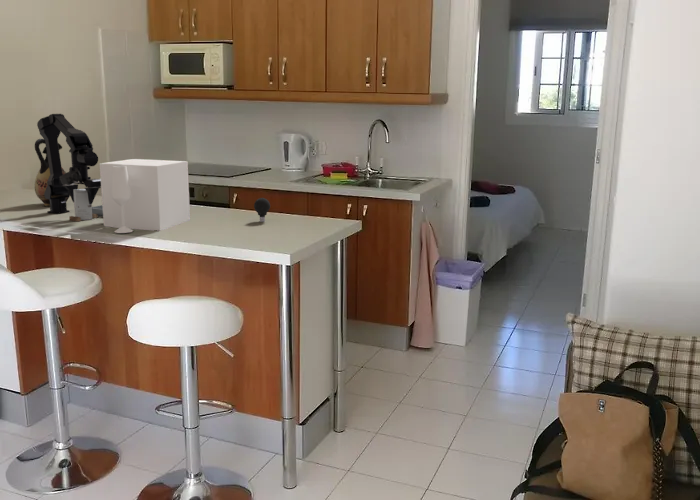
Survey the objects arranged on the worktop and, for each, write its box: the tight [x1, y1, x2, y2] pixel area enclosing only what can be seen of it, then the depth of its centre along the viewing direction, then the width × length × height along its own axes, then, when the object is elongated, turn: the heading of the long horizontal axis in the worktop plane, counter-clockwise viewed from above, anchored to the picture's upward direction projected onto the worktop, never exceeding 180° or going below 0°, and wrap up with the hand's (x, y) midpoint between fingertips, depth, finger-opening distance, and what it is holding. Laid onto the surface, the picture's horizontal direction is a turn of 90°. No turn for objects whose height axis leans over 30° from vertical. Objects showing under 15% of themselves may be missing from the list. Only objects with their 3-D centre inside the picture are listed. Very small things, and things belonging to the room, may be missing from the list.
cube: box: [99, 158, 191, 232], centre depth 264 cm, size 25×21×24 cm
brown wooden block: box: [69, 214, 98, 222], centre depth 274 cm, size 5×10×2 cm, turn 152°
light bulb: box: [253, 197, 271, 223], centre depth 270 cm, size 6×6×10 cm
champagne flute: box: [112, 166, 134, 234], centre depth 248 cm, size 7×7×24 cm
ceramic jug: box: [34, 138, 71, 208], centre depth 304 cm, size 17×15×30 cm
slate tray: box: [92, 204, 103, 218], centre depth 287 cm, size 14×14×3 cm
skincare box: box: [73, 188, 93, 221], centre depth 273 cm, size 6×4×12 cm
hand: (82, 203), depth 272 cm, fingers open, 9 cm apart
